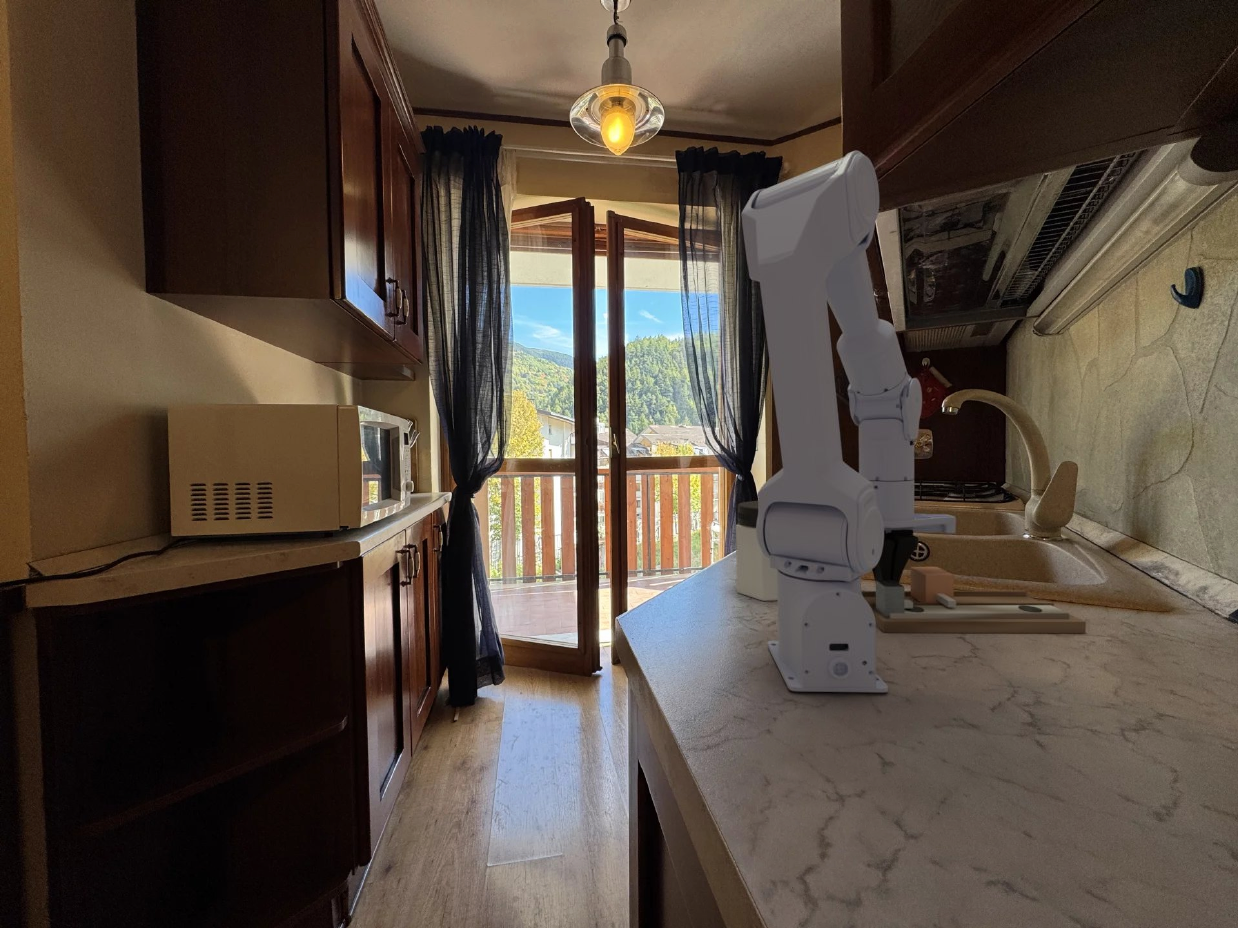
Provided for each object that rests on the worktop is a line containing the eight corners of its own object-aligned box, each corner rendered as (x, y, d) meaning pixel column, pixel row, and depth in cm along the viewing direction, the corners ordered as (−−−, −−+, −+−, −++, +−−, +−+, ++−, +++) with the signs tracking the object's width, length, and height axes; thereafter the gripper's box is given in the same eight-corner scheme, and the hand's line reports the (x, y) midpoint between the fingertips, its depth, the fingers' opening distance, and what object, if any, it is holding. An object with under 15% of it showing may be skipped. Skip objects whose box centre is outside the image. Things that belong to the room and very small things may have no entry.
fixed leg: (916, 618, 54) (916, 586, 54) (885, 618, 55) (885, 586, 55) (905, 610, 57) (906, 580, 57) (875, 610, 57) (875, 580, 57)
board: (1085, 633, 52) (1085, 615, 52) (883, 632, 54) (883, 615, 54) (1026, 605, 61) (1026, 589, 61) (853, 605, 63) (853, 590, 62)
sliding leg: (966, 612, 55) (966, 581, 55) (937, 612, 55) (937, 581, 55) (936, 595, 61) (936, 566, 61) (910, 595, 61) (910, 566, 61)
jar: (747, 579, 75) (745, 499, 74) (805, 585, 71) (804, 501, 70) (731, 597, 67) (729, 507, 66) (795, 605, 63) (794, 510, 62)
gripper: (932, 474, 62) (932, 583, 63) (812, 477, 64) (813, 583, 64) (967, 480, 55) (966, 601, 56) (830, 483, 57) (831, 601, 57)
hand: (886, 593), depth 60 cm, fingers closed
